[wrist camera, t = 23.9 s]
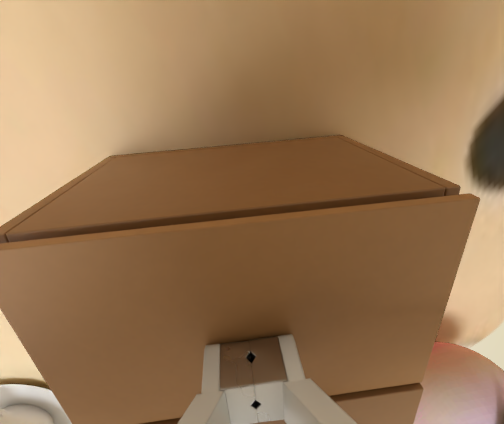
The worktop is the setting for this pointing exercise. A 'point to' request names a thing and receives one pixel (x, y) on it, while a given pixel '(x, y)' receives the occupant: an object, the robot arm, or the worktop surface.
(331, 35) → the worktop surface
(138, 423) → the flap
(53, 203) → the carton
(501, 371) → the decorative fruit
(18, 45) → the worktop surface
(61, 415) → the teacup
